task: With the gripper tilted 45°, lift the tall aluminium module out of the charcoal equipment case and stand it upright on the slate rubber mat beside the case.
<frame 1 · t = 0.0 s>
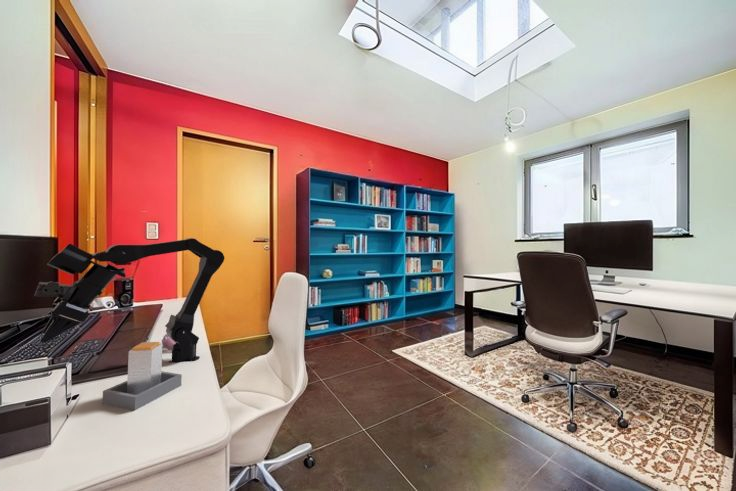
hand: (43, 337, 69), 15 cm above the table, tool tilted 35°, fingers open, 9 cm apart
module: (144, 393, 70), point 1 cm above the table, touching case
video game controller: (173, 348, 104), on the table
case: (144, 397, 70), on the table
mat: (120, 387, 74), on the table
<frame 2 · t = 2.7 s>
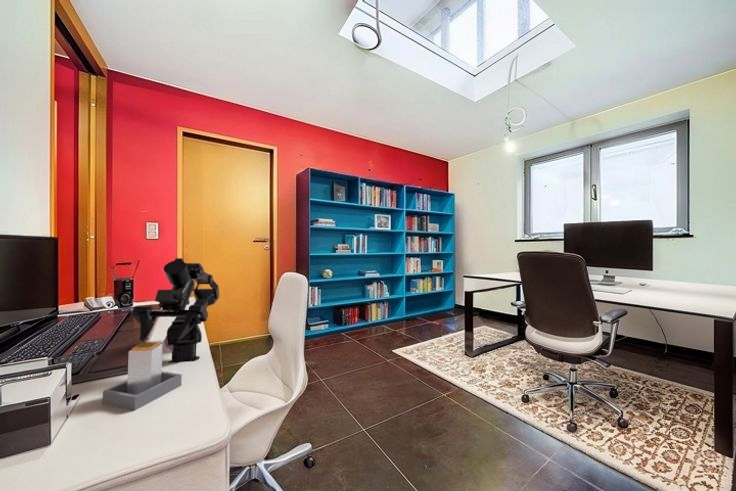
hand: (160, 340, 76), 13 cm above the table, tool tilted 45°, fingers open, 9 cm apart
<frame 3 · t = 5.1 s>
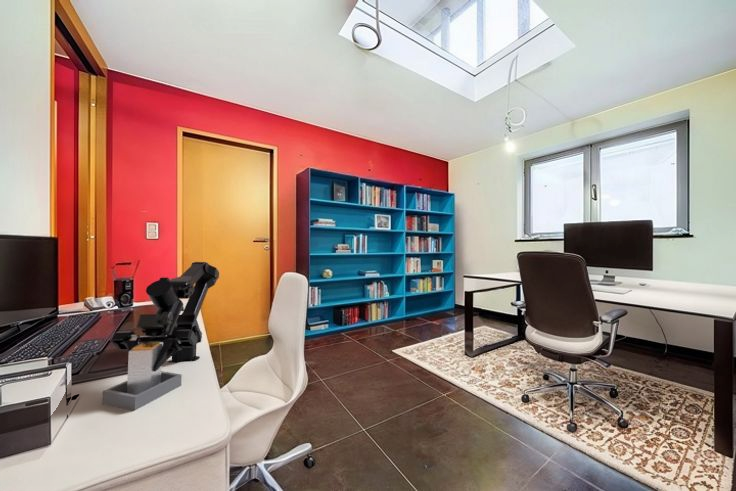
hand: (142, 371, 69), 7 cm above the table, tool tilted 45°, fingers closed on module, 5 cm apart
module: (144, 393, 70), point 1 cm above the table, touching case, gripper
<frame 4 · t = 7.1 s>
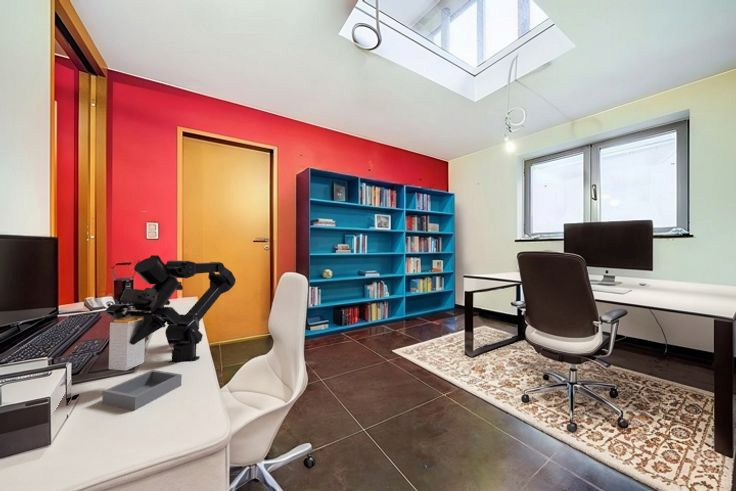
hand: (122, 343, 71), 13 cm above the table, tool tilted 45°, fingers closed on module, 5 cm apart
module: (126, 365, 72), point 7 cm above the table, touching gripper
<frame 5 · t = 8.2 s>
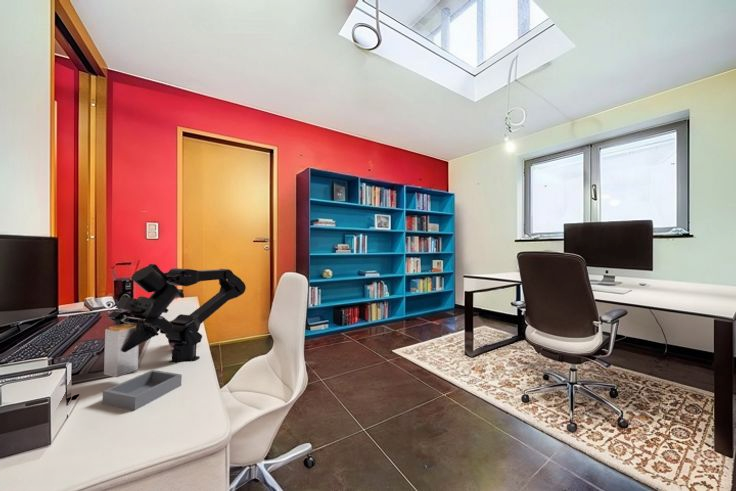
hand: (116, 350, 73), 11 cm above the table, tool tilted 45°, fingers closed on module, 5 cm apart
module: (121, 371, 74), point 4 cm above the table, touching gripper
when the fingers open (8 cm above the table, at t = 9.1 s): module drops 1 cm, resting on mat.
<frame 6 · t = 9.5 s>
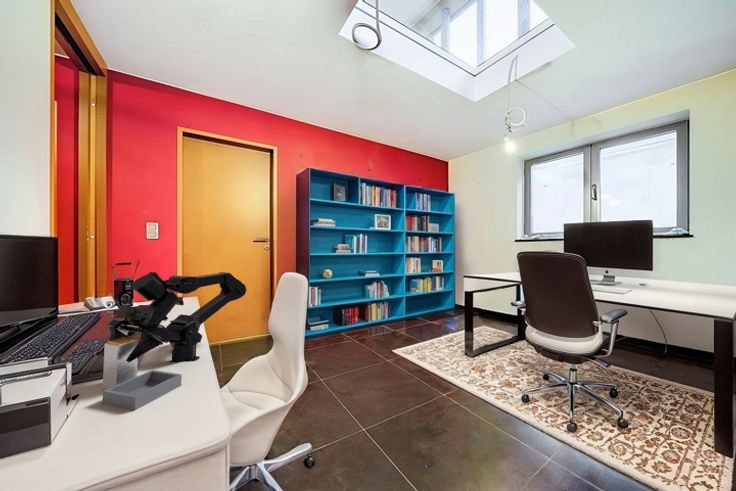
hand: (115, 359, 73), 8 cm above the table, tool tilted 45°, fingers open, 9 cm apart
module: (120, 385, 74), resting on mat
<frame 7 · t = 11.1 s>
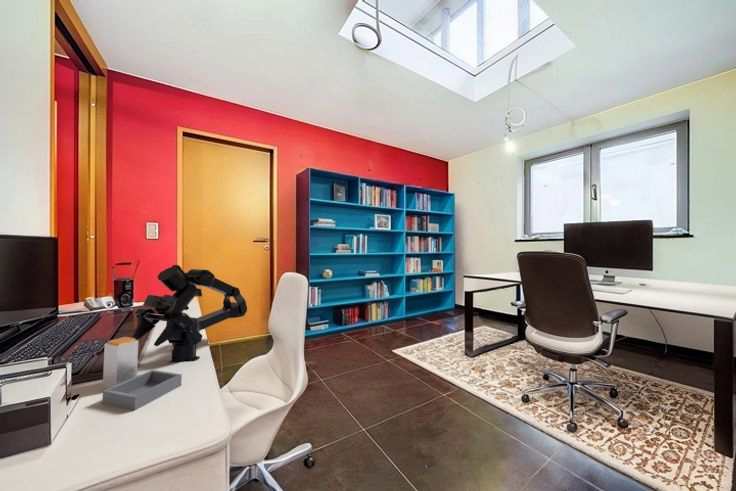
hand: (143, 343, 80), 10 cm above the table, tool tilted 45°, fingers open, 9 cm apart
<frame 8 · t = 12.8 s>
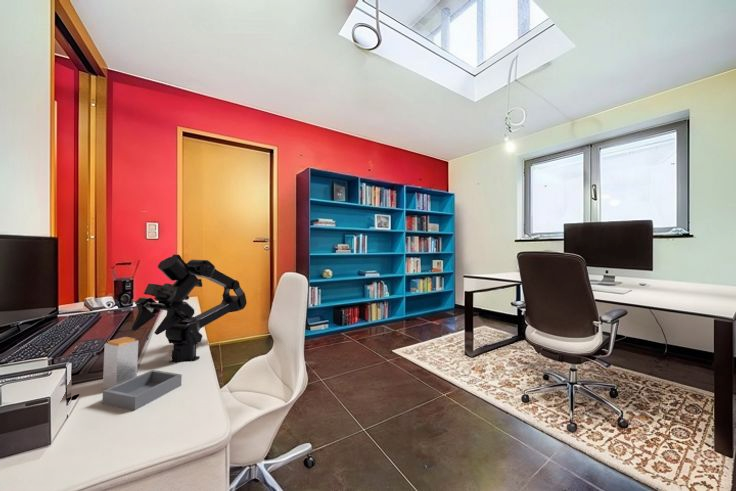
hand: (144, 332, 80), 14 cm above the table, tool tilted 45°, fingers open, 9 cm apart
at the end: module inside the target area (0.2 cm from its centre), point 0.5 cm above the table; module tilted 0°; the gripper is holding nothing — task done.
